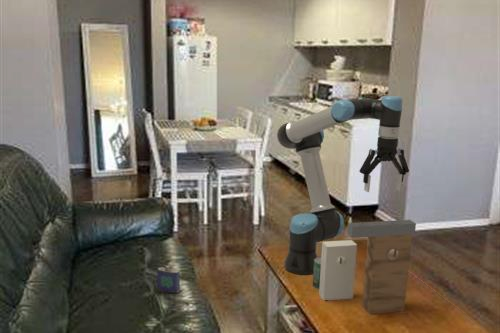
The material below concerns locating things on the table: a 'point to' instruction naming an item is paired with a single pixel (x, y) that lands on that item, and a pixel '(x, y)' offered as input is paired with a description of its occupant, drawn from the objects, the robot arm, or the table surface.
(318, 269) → the canned tomato
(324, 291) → the cream rectangular box
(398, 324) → the table surface
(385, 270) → the tall cabinet
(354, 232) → the grey square bar
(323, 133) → the robot arm
